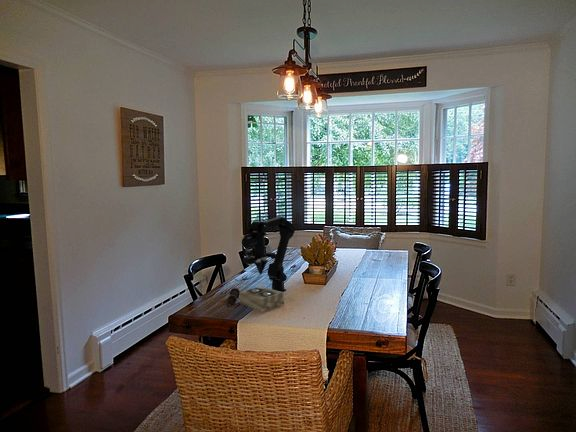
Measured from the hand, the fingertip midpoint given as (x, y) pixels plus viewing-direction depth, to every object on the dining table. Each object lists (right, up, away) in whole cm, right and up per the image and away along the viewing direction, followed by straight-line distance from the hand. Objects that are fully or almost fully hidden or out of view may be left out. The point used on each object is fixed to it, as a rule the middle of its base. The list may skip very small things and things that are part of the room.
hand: (260, 273), depth 223 cm
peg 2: (+4, -14, -12) cm, 19 cm away
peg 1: (-2, -13, -6) cm, 15 cm away
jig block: (+1, -14, -9) cm, 17 cm away
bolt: (-14, -15, -2) cm, 20 cm away
